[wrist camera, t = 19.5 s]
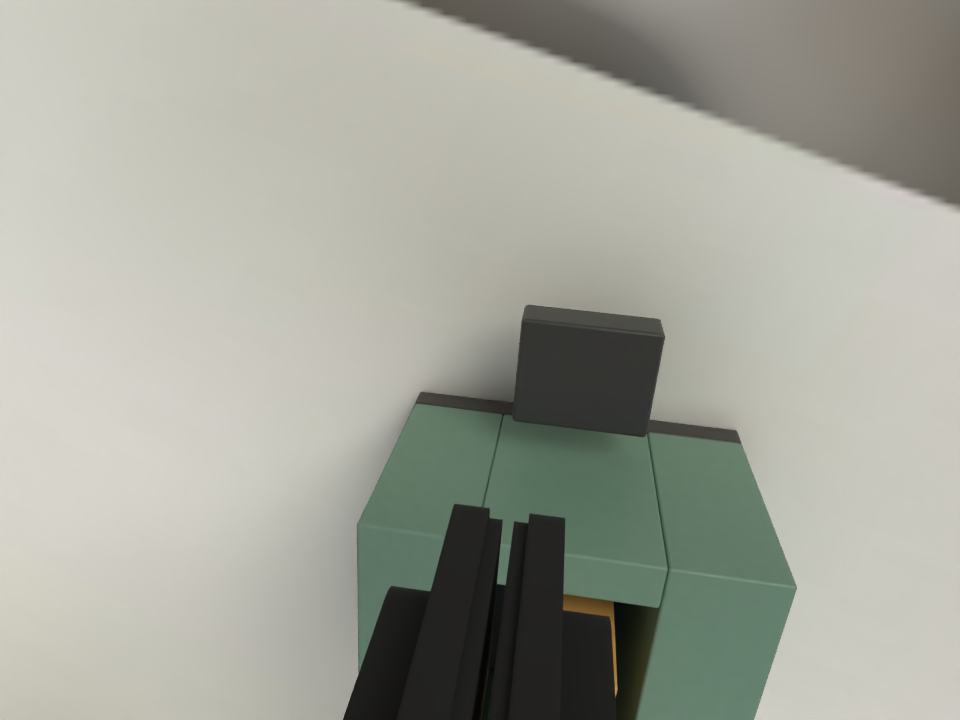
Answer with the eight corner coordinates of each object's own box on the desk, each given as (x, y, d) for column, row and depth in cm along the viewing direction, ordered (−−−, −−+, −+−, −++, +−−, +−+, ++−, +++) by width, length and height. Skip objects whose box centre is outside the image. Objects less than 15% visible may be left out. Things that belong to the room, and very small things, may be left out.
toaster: (420, 390, 23) (356, 524, 16) (737, 429, 22) (798, 587, 15) (411, 661, 28) (359, 843, 21) (668, 702, 27) (694, 907, 20)
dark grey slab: (525, 303, 19) (521, 318, 18) (661, 318, 18) (666, 334, 17) (515, 401, 20) (511, 422, 19) (642, 417, 20) (646, 439, 19)
